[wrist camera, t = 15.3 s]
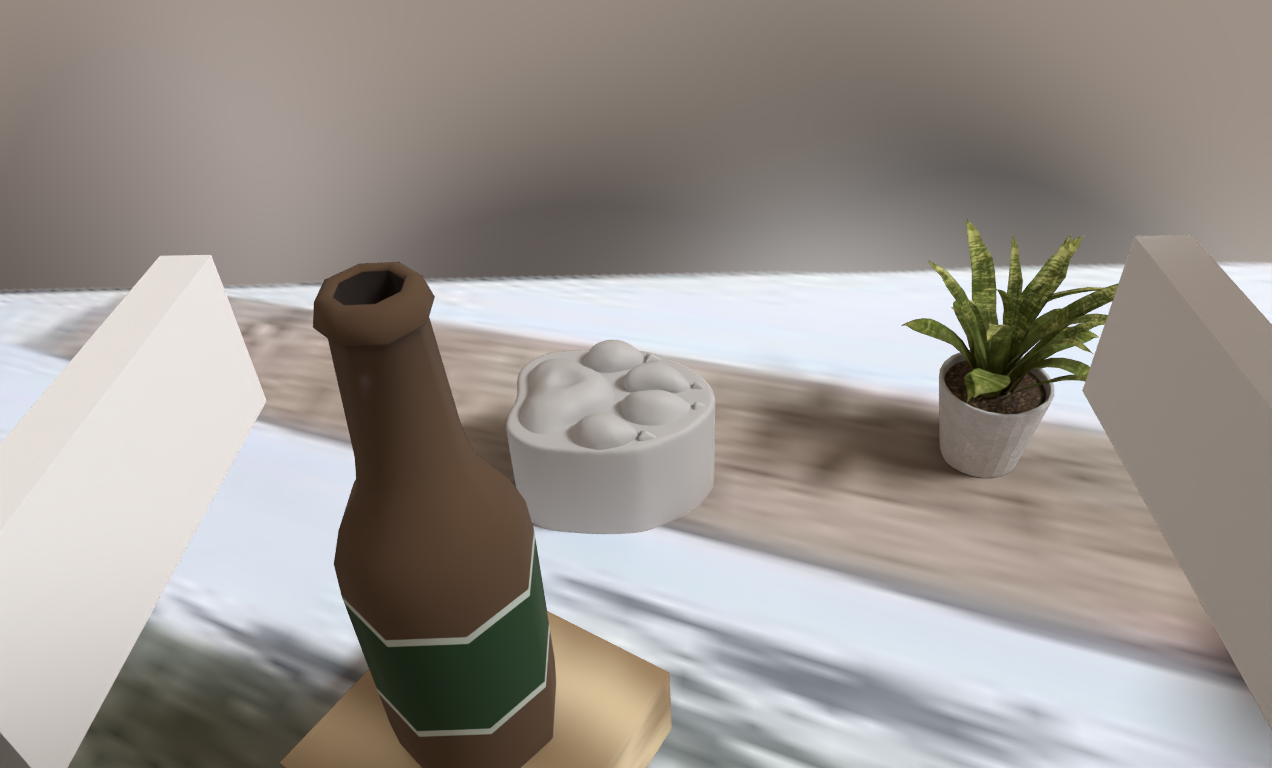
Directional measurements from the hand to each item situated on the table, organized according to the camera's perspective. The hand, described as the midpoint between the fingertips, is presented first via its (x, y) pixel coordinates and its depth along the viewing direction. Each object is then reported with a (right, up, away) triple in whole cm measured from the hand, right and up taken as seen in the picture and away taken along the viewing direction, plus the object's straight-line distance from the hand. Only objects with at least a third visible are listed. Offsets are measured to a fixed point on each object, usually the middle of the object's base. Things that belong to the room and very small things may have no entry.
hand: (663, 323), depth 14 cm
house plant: (+23, -7, +48) cm, 54 cm away
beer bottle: (-8, -17, +30) cm, 35 cm away
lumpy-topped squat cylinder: (-2, -7, +49) cm, 50 cm away
